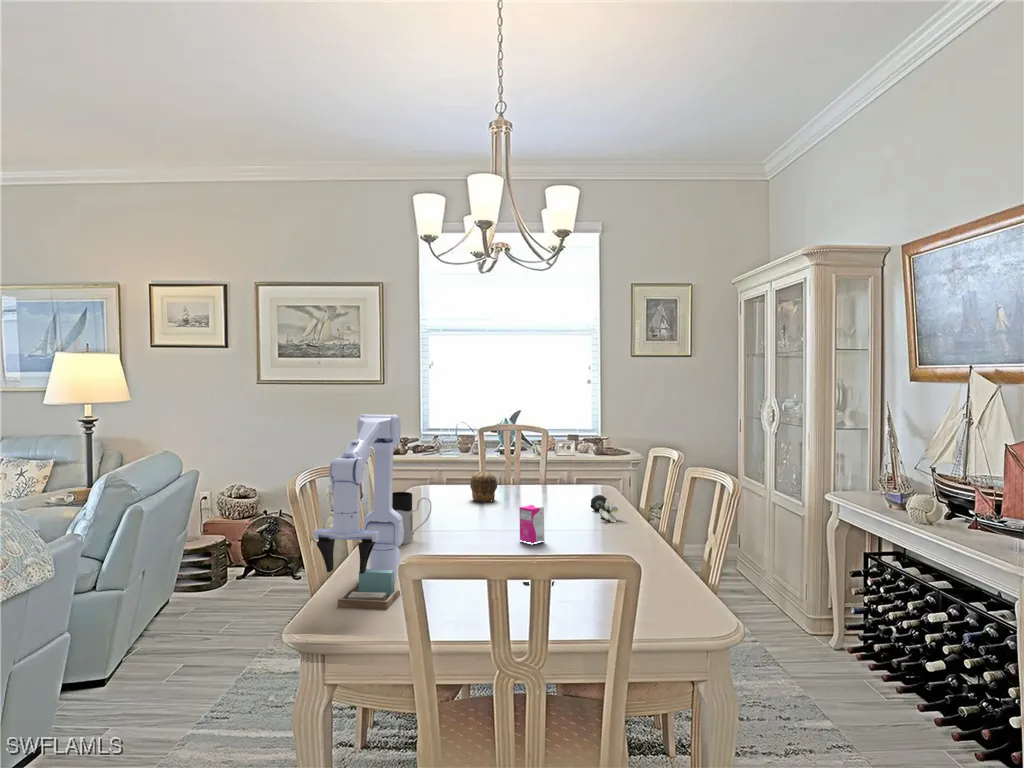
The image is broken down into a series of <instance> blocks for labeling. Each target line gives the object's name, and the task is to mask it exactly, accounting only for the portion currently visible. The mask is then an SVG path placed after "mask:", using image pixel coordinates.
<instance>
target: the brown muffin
mask: <svg viewBox="0 0 1024 768" xmlns="http://www.w3.org/2000/svg"><path fill="white" fill-rule="evenodd" d="M469 487H470V489H471V492H472V493H471V497H472V500H473V501H475V500H476V501H475V502H477V501H491V500H495V497H496V496H495V495H496V490H497V488H498V481H497V478H496V476H495V475H494V474H493V472H487V471H484V472H483V471H476V472H474V473H473V474H472V476H471V479H470V486H469ZM491 502H492V501H491Z"/></svg>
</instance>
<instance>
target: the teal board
mask: <svg viewBox="0 0 1024 768" xmlns="http://www.w3.org/2000/svg"><path fill="white" fill-rule="evenodd" d="M358 582H359V590H358V592H376V593H386V597H390V596H391V595H392V593H393V592H394V591H395V579H394V570H377V569H369V568H366V572H364V573H363V574H360V570H358Z"/></svg>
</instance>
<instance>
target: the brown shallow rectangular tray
mask: <svg viewBox="0 0 1024 768" xmlns="http://www.w3.org/2000/svg"><path fill="white" fill-rule="evenodd" d="M352 592H359V581H358V582H356V583H354V585H352V587H350V588H349V589H348V590H347V591H345V593H343V594H342V596H340V597H339V598H337V607H343V608H344V607H346V608H358V609H359V608H362V609H363V608H365V609H379V610H380V609H383V610H387V609H389V608H390V606H392V605H393V604H394V602H395V601H396V600H397V599H398V598H399V597H400V595H401V594H400V591H399V586H398V587H397V588H396V589H394V592H393V593H392V595H391V596H388V598H386V601H376V600H356V599H348V596H349V595H350V594H351V593H352Z"/></svg>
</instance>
